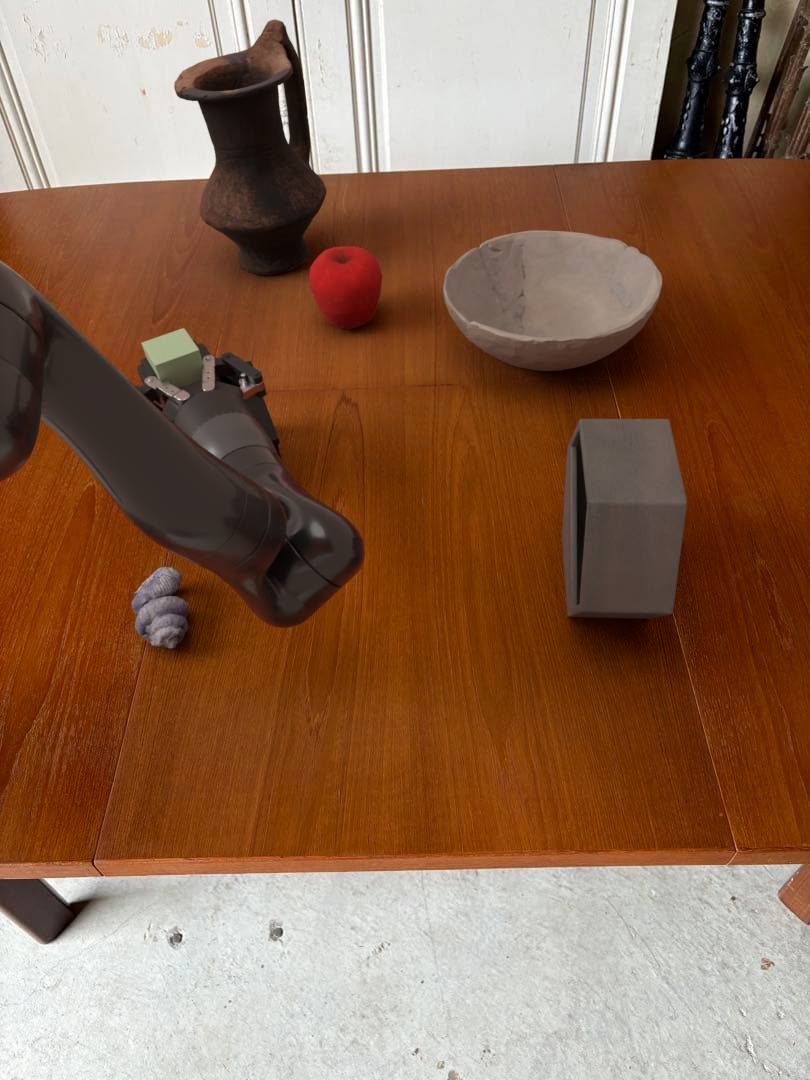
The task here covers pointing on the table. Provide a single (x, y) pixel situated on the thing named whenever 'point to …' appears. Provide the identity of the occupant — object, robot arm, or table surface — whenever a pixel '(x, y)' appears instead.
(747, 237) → the table surface
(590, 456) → the grey open box
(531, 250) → the bowl
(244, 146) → the jug
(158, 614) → the seashell
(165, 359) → the block
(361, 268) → the apple
